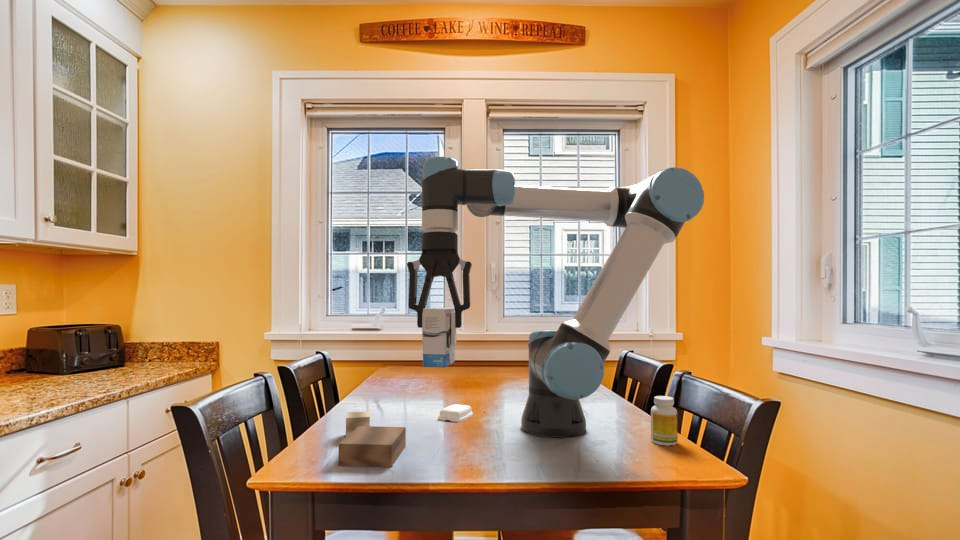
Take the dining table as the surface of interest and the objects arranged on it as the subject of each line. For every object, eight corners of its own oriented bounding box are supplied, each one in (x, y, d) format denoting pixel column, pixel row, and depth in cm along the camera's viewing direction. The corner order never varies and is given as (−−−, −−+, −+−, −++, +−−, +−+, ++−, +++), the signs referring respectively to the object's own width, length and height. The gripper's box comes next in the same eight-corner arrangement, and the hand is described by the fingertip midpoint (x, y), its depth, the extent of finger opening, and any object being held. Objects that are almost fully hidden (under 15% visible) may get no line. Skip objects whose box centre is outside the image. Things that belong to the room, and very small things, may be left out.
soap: (460, 424, 121) (460, 412, 121) (435, 420, 124) (435, 409, 124) (474, 415, 129) (474, 404, 130) (451, 413, 132) (451, 402, 132)
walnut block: (405, 446, 102) (405, 427, 102) (391, 466, 90) (391, 444, 90) (358, 445, 103) (358, 426, 103) (338, 465, 91) (338, 443, 91)
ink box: (445, 368, 97) (445, 308, 97) (421, 367, 98) (421, 308, 98) (455, 362, 105) (456, 307, 106) (433, 361, 106) (434, 307, 107)
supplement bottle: (647, 438, 108) (646, 395, 109) (671, 438, 108) (670, 394, 109) (657, 446, 103) (656, 400, 103) (682, 446, 103) (681, 400, 103)
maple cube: (369, 433, 112) (369, 411, 112) (369, 440, 107) (369, 416, 107) (347, 434, 111) (347, 412, 111) (345, 441, 106) (346, 418, 106)
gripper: (484, 234, 106) (484, 342, 105) (400, 234, 107) (399, 341, 106) (482, 229, 98) (482, 346, 97) (392, 230, 100) (391, 345, 98)
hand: (439, 343), depth 102 cm, fingers closed on ink box, 5 cm apart
